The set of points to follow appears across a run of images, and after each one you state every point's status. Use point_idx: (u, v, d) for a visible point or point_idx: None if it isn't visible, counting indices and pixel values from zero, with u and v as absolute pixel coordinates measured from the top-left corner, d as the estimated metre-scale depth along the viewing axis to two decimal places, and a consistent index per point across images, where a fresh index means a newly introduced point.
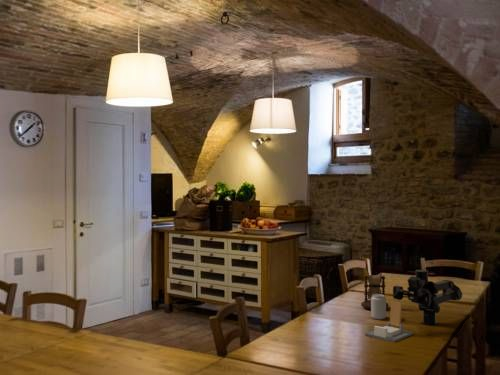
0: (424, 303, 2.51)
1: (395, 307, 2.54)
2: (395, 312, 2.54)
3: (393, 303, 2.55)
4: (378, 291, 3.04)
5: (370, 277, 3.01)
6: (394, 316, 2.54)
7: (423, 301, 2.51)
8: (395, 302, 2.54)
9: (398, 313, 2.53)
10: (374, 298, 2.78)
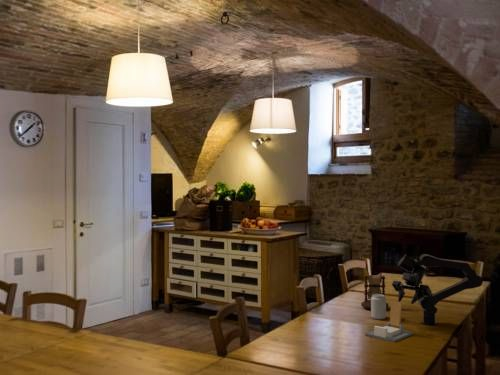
0: (423, 295, 2.60)
1: (395, 307, 2.54)
2: (395, 312, 2.54)
3: (393, 303, 2.55)
4: (378, 291, 3.04)
5: (370, 277, 3.01)
6: (394, 316, 2.54)
7: (422, 294, 2.60)
8: (395, 302, 2.54)
9: (398, 313, 2.53)
10: (374, 298, 2.78)
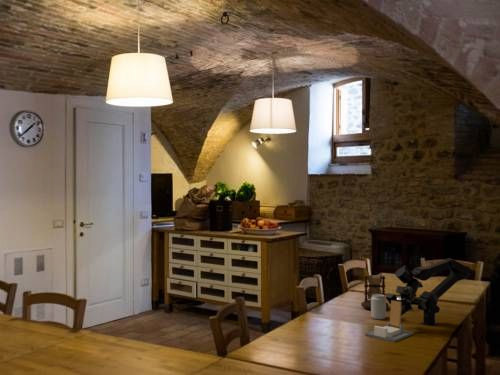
0: (411, 308, 2.59)
1: (395, 307, 2.54)
2: (395, 312, 2.54)
3: (393, 303, 2.55)
4: (378, 291, 3.04)
5: (370, 277, 3.01)
6: (394, 316, 2.54)
7: (409, 307, 2.58)
8: (395, 302, 2.54)
9: (398, 313, 2.53)
10: (374, 298, 2.78)
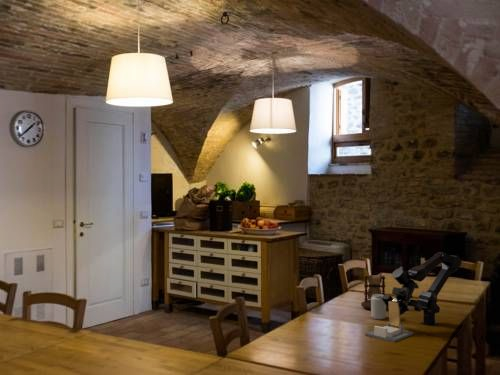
0: (407, 309, 2.56)
1: (393, 308, 2.53)
2: (393, 313, 2.53)
3: (390, 304, 2.54)
4: (378, 291, 3.04)
5: (370, 277, 3.01)
6: (393, 317, 2.53)
7: (406, 308, 2.56)
8: (392, 303, 2.53)
9: (397, 314, 2.52)
10: (374, 298, 2.78)
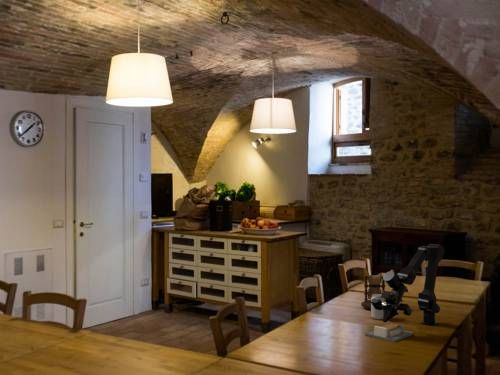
0: (397, 314, 2.49)
1: None
2: None
3: None
4: (378, 291, 3.04)
5: (370, 277, 3.01)
6: None
7: (395, 312, 2.49)
8: None
9: None
10: None
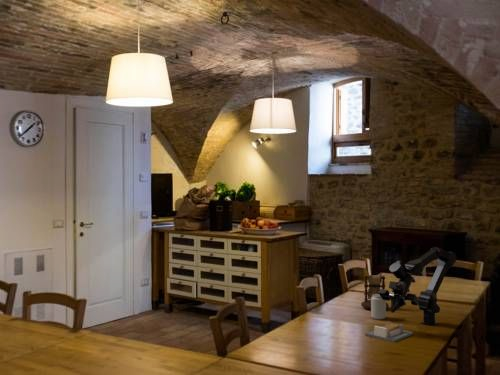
0: (404, 304, 2.54)
1: None
2: None
3: None
4: (378, 291, 3.04)
5: (370, 277, 3.01)
6: None
7: (403, 303, 2.54)
8: None
9: None
10: (374, 298, 2.78)
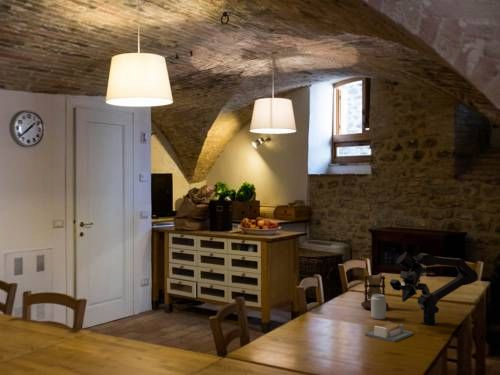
0: (415, 293, 2.61)
1: None
2: None
3: None
4: (378, 291, 3.04)
5: (370, 277, 3.01)
6: None
7: (413, 292, 2.61)
8: None
9: None
10: (374, 298, 2.78)
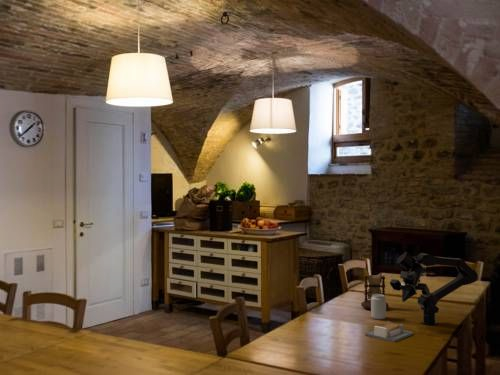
0: (415, 293, 2.61)
1: None
2: None
3: None
4: (378, 291, 3.04)
5: (370, 277, 3.01)
6: None
7: (413, 292, 2.61)
8: None
9: None
10: (374, 298, 2.78)
